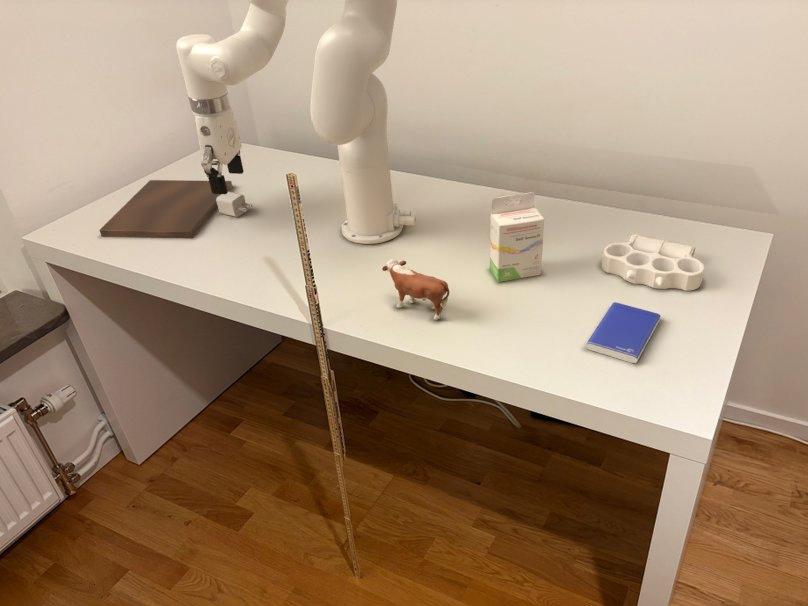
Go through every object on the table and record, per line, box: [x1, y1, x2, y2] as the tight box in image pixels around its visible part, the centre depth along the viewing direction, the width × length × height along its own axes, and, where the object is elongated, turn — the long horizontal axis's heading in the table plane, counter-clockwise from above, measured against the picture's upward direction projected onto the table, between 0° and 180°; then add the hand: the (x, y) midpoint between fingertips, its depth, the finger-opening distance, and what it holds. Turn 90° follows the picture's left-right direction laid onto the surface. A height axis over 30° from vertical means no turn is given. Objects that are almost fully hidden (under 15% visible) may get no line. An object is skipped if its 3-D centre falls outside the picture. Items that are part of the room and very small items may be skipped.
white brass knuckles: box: [601, 233, 705, 292], centre depth 126 cm, size 3×18×15 cm
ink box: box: [489, 191, 545, 283], centre depth 124 cm, size 9×5×15 cm, turn 105°
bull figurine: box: [381, 258, 450, 321], centre depth 118 cm, size 4×13×8 cm, turn 55°
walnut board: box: [98, 179, 234, 239], centre depth 153 cm, size 20×24×2 cm
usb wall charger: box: [216, 191, 253, 218], centre depth 150 cm, size 4×7×4 cm, turn 64°
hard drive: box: [585, 301, 661, 364], centre depth 112 cm, size 2×8×12 cm
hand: (228, 183), depth 147 cm, fingers open, 9 cm apart
